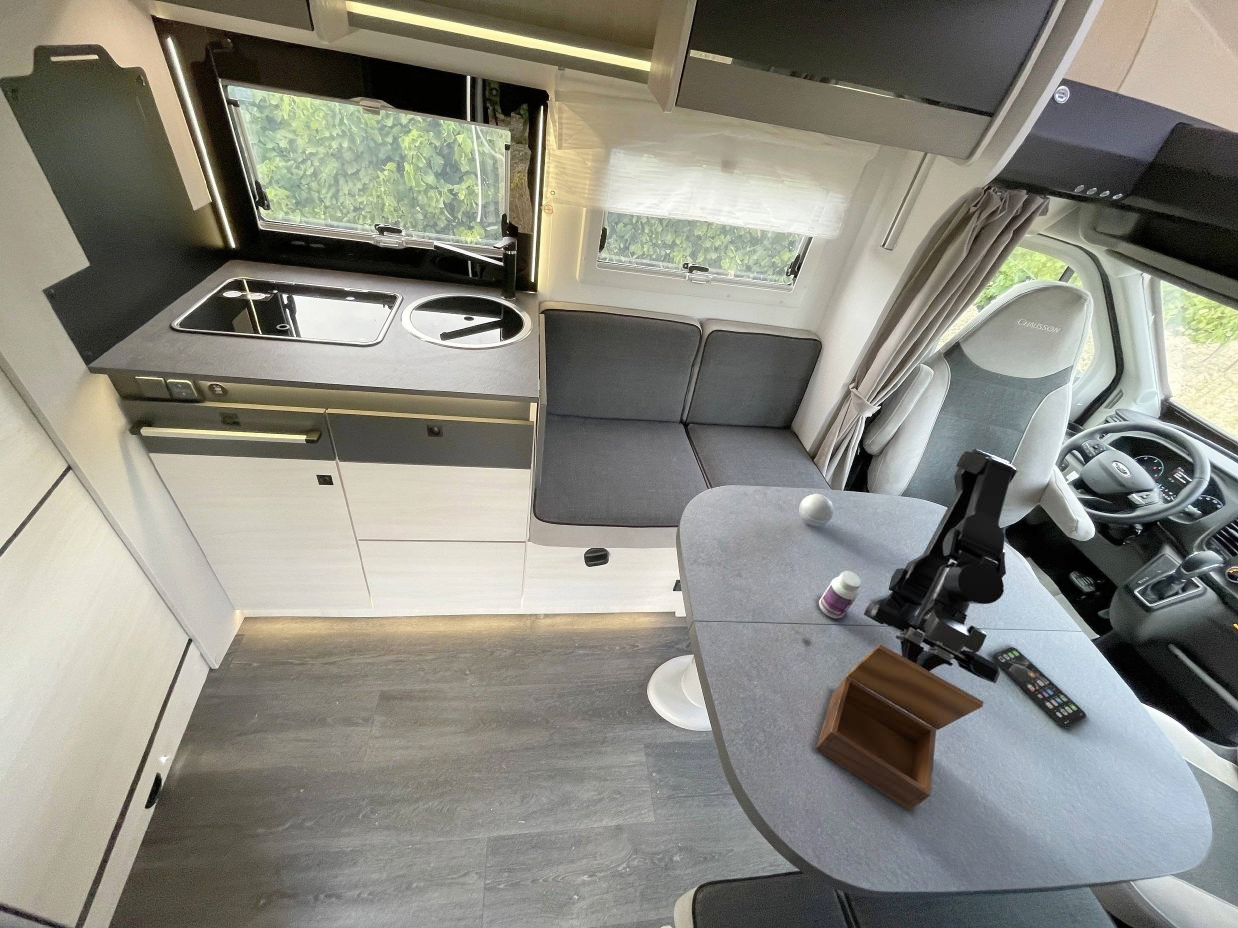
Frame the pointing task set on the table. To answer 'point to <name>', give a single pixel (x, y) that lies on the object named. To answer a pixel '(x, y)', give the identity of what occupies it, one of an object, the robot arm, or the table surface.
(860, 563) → the table surface
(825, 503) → the bath bomb
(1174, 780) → the table surface
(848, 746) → the chest
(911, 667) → the lid
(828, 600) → the pill bottle
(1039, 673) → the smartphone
